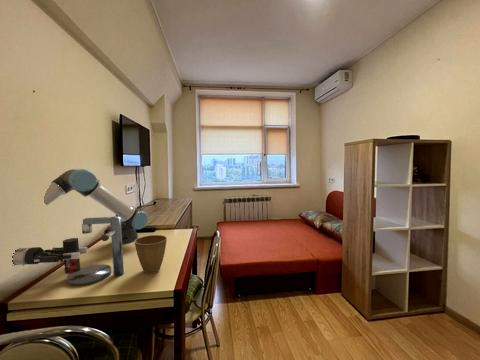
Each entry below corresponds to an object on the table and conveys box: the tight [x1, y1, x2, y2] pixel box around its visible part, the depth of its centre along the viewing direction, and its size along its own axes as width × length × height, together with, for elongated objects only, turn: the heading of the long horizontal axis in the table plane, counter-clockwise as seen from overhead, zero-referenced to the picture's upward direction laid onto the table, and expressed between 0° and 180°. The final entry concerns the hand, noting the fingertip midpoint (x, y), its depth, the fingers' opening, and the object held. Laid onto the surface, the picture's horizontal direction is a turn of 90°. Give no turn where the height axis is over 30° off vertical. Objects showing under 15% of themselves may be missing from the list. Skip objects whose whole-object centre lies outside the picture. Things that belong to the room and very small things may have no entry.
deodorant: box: [62, 237, 81, 275], centre depth 112 cm, size 6×6×15 cm
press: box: [66, 215, 125, 287], centre depth 111 cm, size 28×19×28 cm
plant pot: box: [134, 234, 168, 275], centre depth 118 cm, size 15×15×16 cm
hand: (83, 252), depth 112 cm, fingers closed on deodorant, 6 cm apart
